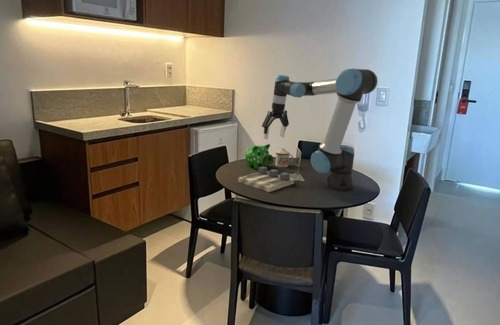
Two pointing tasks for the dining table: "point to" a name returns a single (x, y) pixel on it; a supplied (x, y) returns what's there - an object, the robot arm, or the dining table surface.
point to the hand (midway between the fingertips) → (273, 137)
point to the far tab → (262, 170)
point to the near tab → (284, 176)
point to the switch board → (265, 181)
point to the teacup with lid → (282, 158)
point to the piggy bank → (258, 156)
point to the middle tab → (273, 173)
